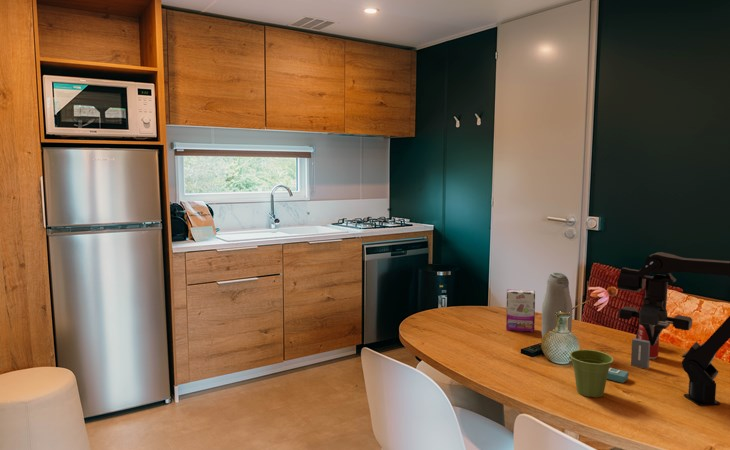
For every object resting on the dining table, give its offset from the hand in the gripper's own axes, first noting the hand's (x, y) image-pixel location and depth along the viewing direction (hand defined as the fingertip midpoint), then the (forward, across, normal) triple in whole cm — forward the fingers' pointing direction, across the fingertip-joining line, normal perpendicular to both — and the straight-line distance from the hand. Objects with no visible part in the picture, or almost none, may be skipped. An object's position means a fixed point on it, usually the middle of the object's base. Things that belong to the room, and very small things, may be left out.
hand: (652, 345), depth 156 cm
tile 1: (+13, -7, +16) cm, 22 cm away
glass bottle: (+14, -35, +15) cm, 40 cm away
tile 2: (+12, -7, 0) cm, 14 cm away
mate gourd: (+13, -10, +38) cm, 42 cm away
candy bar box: (+14, -54, +27) cm, 62 cm away
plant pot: (+13, -12, -16) cm, 24 cm away
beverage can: (+13, -7, +27) cm, 31 cm away
